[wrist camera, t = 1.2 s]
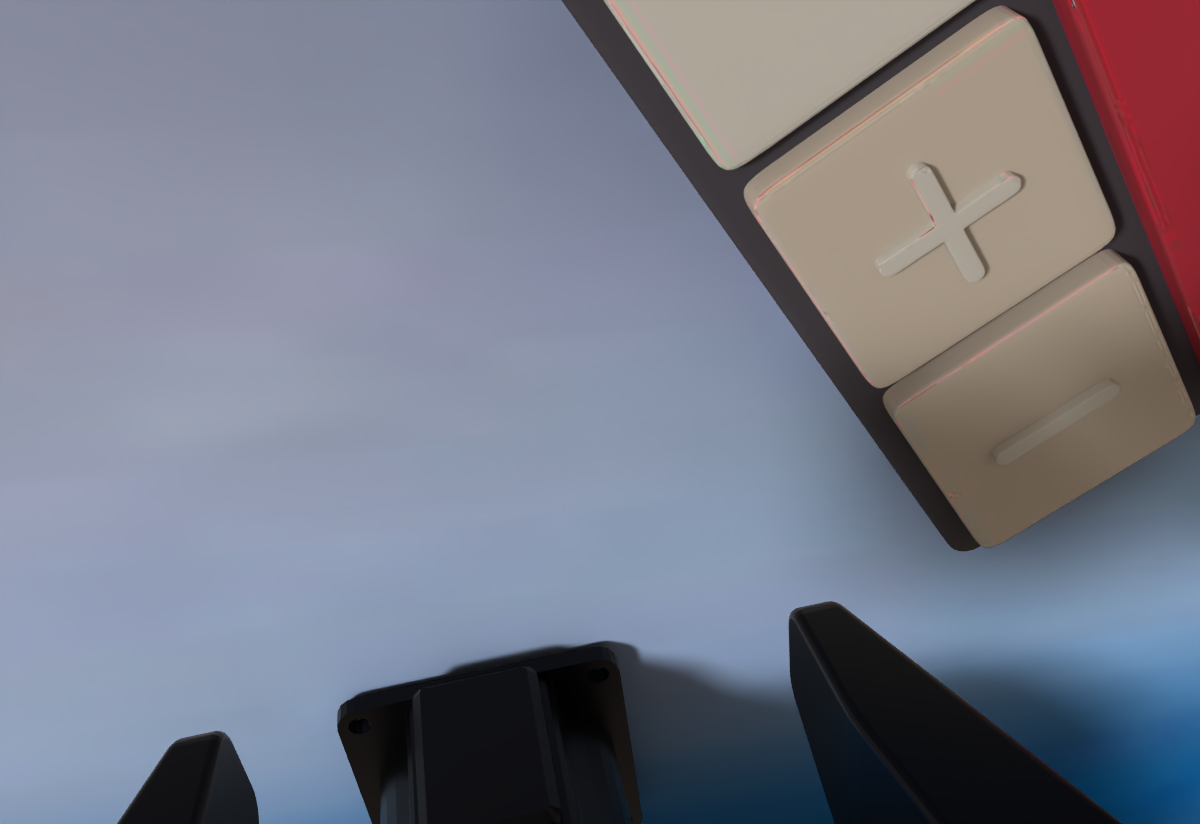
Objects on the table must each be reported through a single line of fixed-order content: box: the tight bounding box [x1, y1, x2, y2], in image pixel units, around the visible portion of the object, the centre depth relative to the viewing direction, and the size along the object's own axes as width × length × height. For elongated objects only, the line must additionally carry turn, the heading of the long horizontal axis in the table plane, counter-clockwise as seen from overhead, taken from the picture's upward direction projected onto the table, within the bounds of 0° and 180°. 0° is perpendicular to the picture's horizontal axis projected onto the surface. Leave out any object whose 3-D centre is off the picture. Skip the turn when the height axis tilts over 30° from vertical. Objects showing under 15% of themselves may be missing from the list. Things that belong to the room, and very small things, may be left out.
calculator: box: [562, 0, 1200, 551], centre depth 19 cm, size 11×4×15 cm
